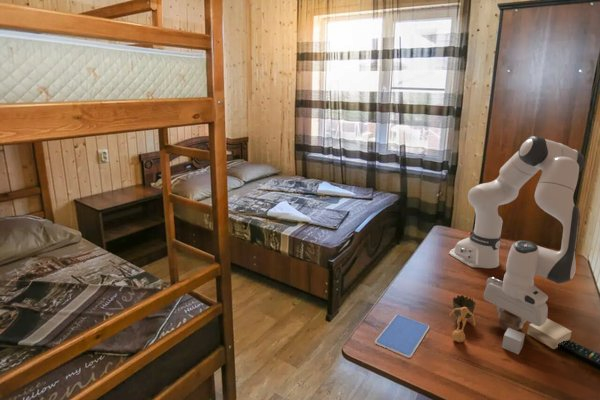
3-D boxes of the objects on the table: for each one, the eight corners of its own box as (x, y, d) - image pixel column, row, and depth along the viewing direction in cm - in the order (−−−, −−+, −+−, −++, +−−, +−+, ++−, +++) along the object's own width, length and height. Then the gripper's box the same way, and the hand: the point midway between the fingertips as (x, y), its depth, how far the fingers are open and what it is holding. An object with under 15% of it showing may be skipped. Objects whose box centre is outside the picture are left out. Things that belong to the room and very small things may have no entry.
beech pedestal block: (526, 334, 132) (528, 324, 130) (542, 326, 136) (544, 316, 134) (553, 350, 124) (556, 339, 123) (569, 341, 128) (571, 331, 127)
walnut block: (498, 326, 135) (500, 311, 133) (506, 321, 138) (508, 307, 136) (512, 334, 131) (515, 319, 129) (520, 328, 134) (523, 314, 132)
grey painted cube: (501, 347, 125) (503, 334, 123) (505, 340, 128) (508, 327, 127) (518, 354, 122) (521, 341, 120) (522, 346, 125) (525, 333, 124)
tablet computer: (410, 360, 120) (410, 357, 120) (373, 344, 127) (373, 341, 127) (430, 328, 135) (430, 325, 135) (396, 316, 142) (396, 313, 142)
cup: (462, 328, 134) (465, 309, 132) (446, 317, 140) (448, 298, 138) (477, 322, 137) (480, 303, 135) (460, 311, 144) (463, 293, 141)
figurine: (443, 338, 129) (447, 308, 125) (449, 329, 133) (453, 300, 130) (469, 349, 124) (474, 317, 120) (474, 339, 129) (479, 308, 125)
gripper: (483, 277, 136) (477, 310, 140) (543, 305, 120) (535, 341, 124) (493, 272, 139) (487, 305, 144) (553, 298, 123) (545, 334, 127)
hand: (510, 322), depth 134 cm, fingers closed on walnut block, 5 cm apart
